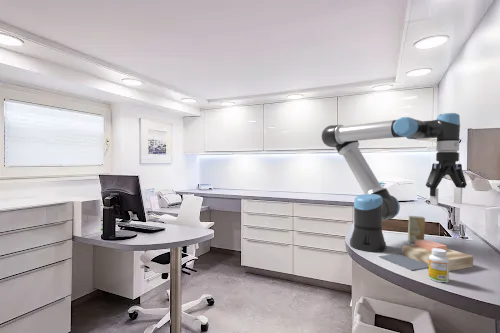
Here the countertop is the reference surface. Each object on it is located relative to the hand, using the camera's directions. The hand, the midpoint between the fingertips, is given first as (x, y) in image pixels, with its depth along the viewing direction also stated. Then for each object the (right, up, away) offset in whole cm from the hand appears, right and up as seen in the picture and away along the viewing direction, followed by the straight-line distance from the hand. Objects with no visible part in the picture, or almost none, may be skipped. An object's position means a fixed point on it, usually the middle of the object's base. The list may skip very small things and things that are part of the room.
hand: (446, 203), depth 111 cm
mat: (-21, -21, -6) cm, 30 cm away
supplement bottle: (-19, -22, -22) cm, 36 cm away
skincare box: (+1, -22, +22) cm, 31 cm away
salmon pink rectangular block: (-8, -18, -2) cm, 19 cm away
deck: (-8, -22, -5) cm, 23 cm away
